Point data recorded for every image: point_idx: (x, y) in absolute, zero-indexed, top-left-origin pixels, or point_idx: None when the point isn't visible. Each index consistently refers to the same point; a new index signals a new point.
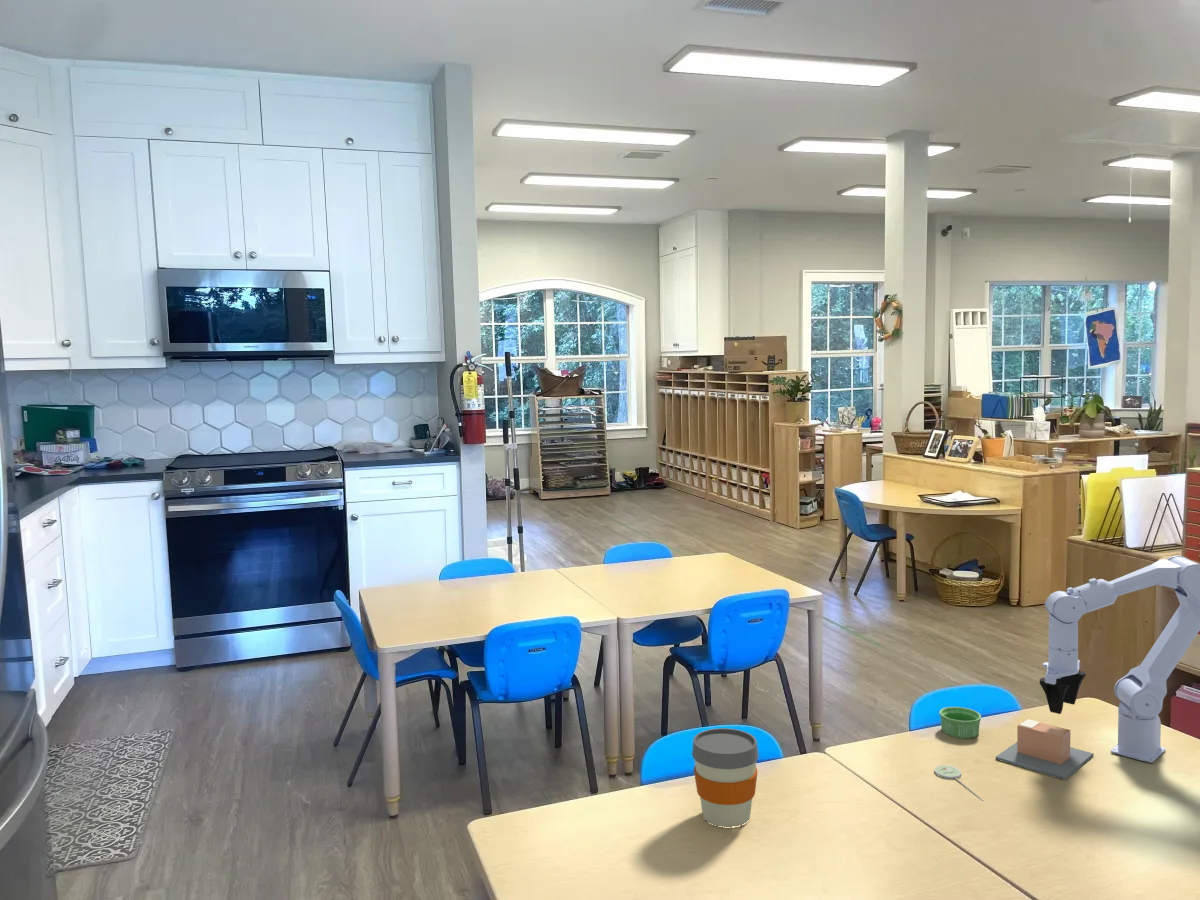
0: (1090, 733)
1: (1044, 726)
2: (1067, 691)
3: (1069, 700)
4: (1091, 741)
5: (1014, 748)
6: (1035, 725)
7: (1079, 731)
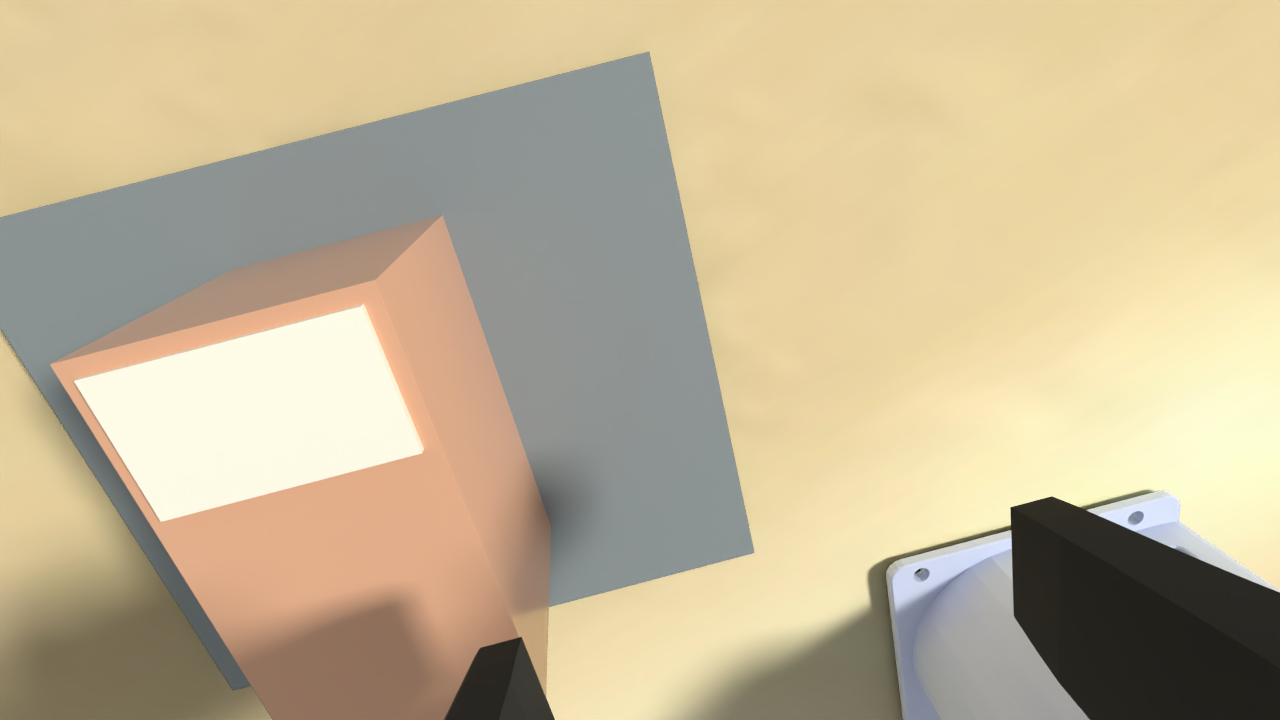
0: (1146, 292)
1: (373, 541)
2: (1179, 693)
3: (1043, 612)
4: (992, 387)
5: (272, 201)
6: (276, 490)
7: (1132, 221)
